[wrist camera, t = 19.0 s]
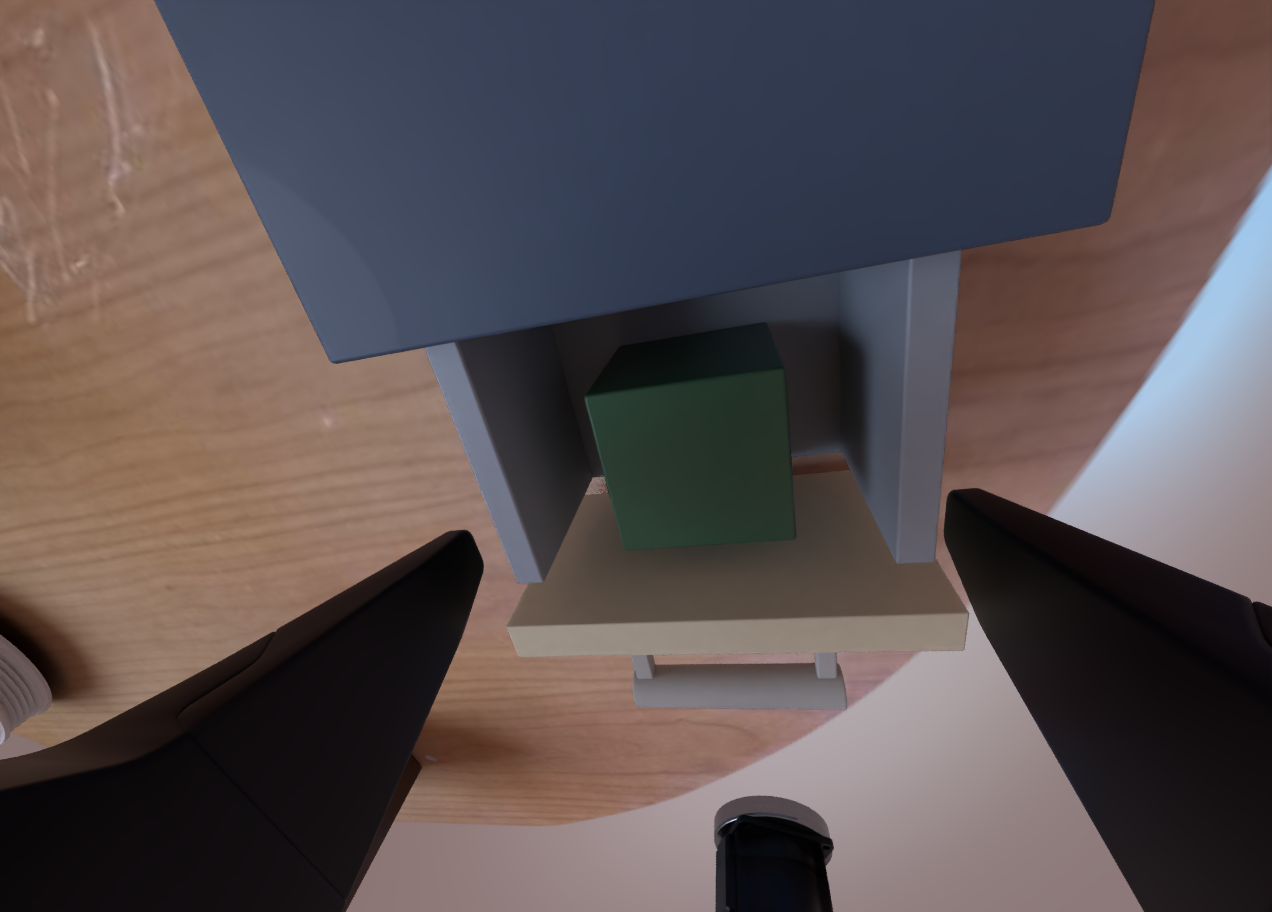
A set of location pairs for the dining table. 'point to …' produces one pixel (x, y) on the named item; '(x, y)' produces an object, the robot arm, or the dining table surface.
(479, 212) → the cabinet
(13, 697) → the grey round disc
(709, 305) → the drawer
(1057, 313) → the dining table surface
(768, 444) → the block
